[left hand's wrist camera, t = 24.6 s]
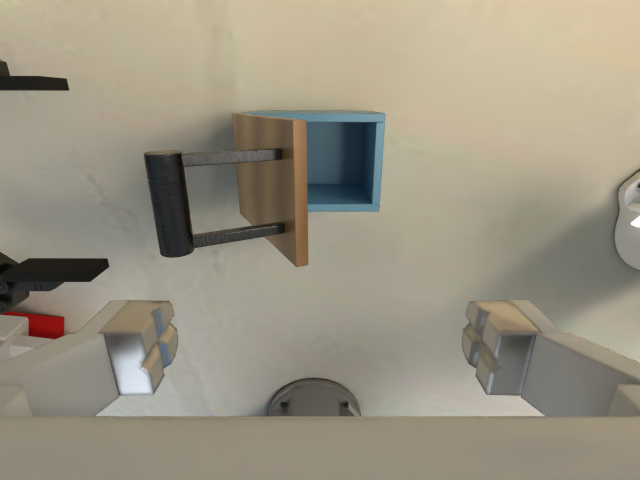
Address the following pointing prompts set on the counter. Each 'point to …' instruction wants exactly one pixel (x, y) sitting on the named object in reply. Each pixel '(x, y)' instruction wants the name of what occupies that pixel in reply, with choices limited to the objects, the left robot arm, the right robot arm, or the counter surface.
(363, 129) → the chest
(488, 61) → the counter surface
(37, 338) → the toy
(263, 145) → the lid
